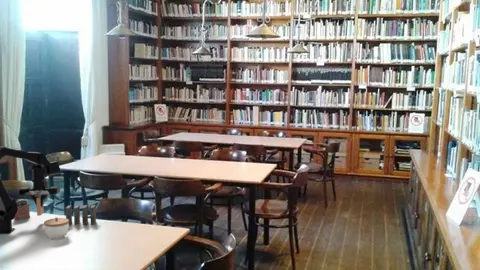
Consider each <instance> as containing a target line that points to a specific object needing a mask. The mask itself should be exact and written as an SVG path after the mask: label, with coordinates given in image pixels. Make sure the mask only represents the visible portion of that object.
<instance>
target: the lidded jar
mask: <svg viewBox="0 0 480 270" xmlns="http://www.w3.org/2000/svg"><path fill="white" fill-rule="evenodd" d="M43 226H44V232H45V235H46V236H47V237H48V238H49V239H51V240H62V239H64V238H65V236H66V235H67V233H68V232H69V229H70V228H69V227H70V225H69V219H66V217H55V218H49V219H46V220H45V221H44V222H43Z"/></svg>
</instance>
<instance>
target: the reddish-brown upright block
mask: <svg viewBox="0 0 480 270" xmlns="http://www.w3.org/2000/svg"><path fill="white" fill-rule="evenodd" d="M16 203H17V205H18V206H17V207H18V211H17V213H16V215H15V218H14V219H13V220H14V221H21V220H26V219H29V218H31V215H30V213H31V212H30V211H31V210H30V205H31V204H30V203H29V202H28V199H20V200H16Z"/></svg>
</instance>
